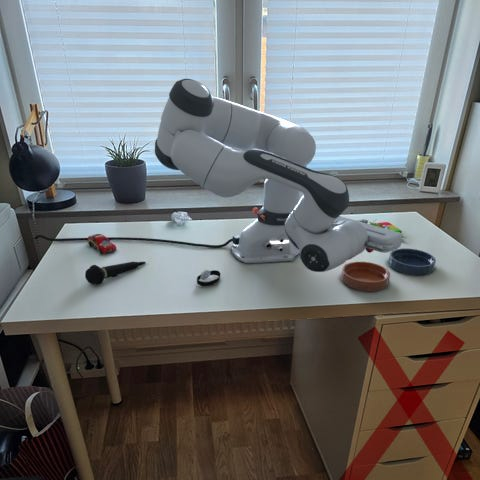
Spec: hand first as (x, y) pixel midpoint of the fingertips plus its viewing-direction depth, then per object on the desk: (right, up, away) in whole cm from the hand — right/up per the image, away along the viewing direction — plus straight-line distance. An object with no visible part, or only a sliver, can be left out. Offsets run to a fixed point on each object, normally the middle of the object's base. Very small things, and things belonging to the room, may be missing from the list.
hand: (376, 225), depth 120 cm
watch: (-46, -15, +7) cm, 49 cm away
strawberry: (-1, -7, +4) cm, 8 cm away
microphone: (-72, -13, +10) cm, 74 cm away
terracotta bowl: (-1, -14, +8) cm, 17 cm away
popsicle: (+17, +5, +39) cm, 43 cm away
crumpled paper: (-59, +11, +47) cm, 77 cm away
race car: (-82, -2, +26) cm, 86 cm away
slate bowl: (+16, -9, +17) cm, 25 cm away
